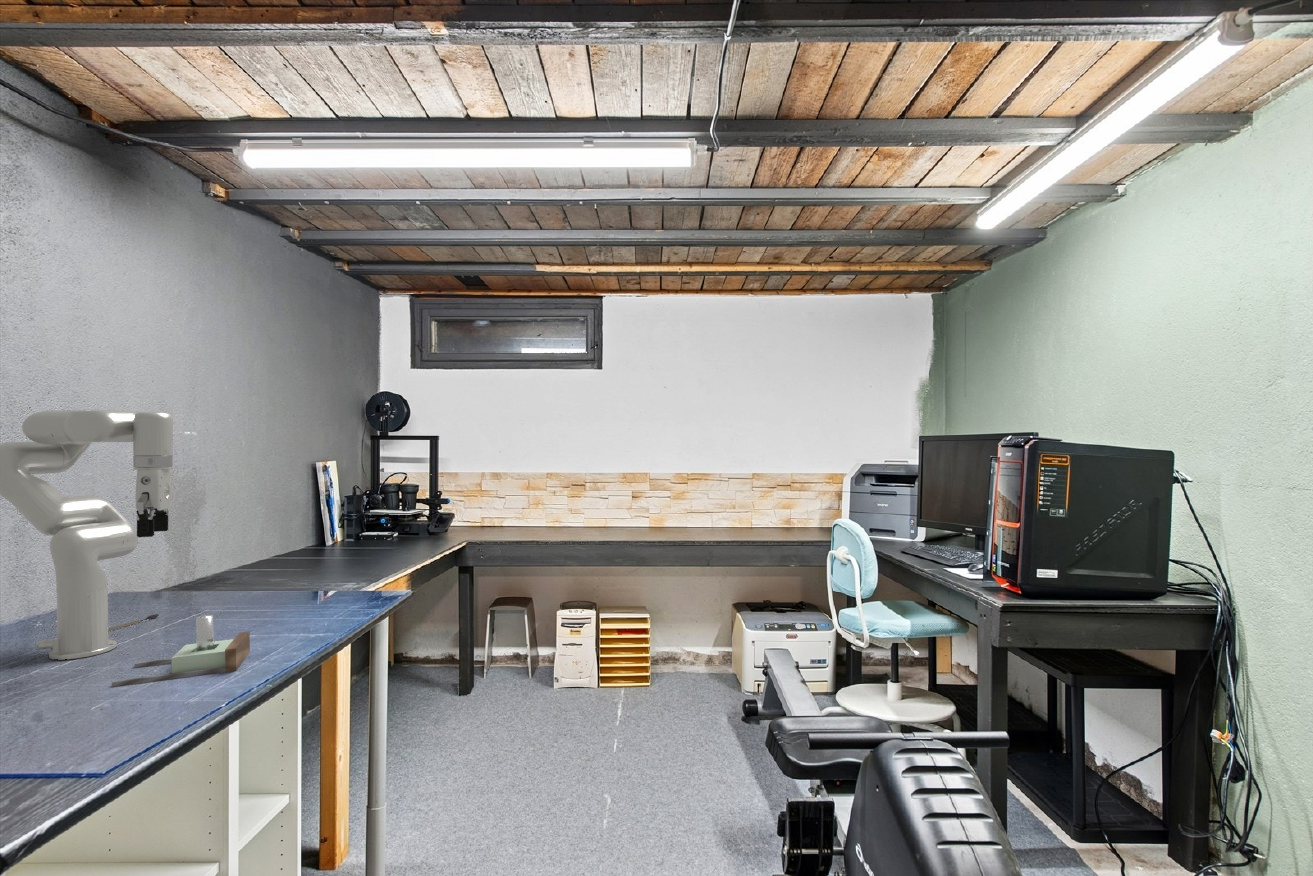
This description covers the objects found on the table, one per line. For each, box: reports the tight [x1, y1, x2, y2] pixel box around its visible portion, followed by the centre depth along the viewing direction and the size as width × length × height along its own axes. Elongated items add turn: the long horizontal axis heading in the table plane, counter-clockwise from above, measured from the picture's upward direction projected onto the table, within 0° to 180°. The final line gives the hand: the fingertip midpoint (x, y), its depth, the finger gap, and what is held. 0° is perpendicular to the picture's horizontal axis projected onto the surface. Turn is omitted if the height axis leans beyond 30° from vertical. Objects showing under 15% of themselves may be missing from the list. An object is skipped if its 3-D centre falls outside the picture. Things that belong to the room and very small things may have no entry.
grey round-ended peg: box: [195, 614, 215, 651], centre depth 145 cm, size 3×3×10 cm
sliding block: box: [171, 638, 235, 674], centre depth 145 cm, size 10×10×4 cm
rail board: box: [111, 631, 251, 688], centre depth 143 cm, size 26×14×6 cm, turn 112°
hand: (153, 533), depth 157 cm, fingers open, 9 cm apart
